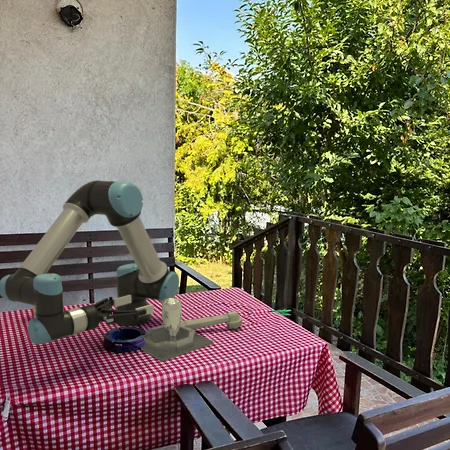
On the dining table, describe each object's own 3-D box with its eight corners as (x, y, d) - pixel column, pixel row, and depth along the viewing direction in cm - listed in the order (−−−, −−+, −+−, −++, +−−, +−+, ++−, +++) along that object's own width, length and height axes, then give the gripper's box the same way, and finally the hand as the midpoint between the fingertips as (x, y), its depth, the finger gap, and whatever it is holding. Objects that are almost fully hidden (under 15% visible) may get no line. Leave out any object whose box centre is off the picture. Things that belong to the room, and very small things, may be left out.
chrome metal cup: (166, 347, 157) (165, 305, 155) (159, 340, 163) (158, 299, 161) (184, 343, 160) (184, 302, 158) (177, 336, 166) (177, 297, 164)
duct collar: (126, 341, 164) (126, 332, 163) (175, 327, 178) (175, 318, 178) (162, 361, 148) (162, 351, 147) (213, 343, 162) (213, 334, 162)
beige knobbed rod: (175, 320, 173) (238, 306, 179) (178, 336, 174) (240, 322, 180) (177, 324, 168) (241, 310, 174) (180, 341, 169) (244, 327, 175)
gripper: (65, 320, 149) (122, 305, 163) (102, 343, 131) (163, 323, 145) (64, 298, 147) (121, 284, 162) (101, 318, 129) (162, 301, 144)
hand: (141, 303), depth 153 cm, fingers open, 13 cm apart
